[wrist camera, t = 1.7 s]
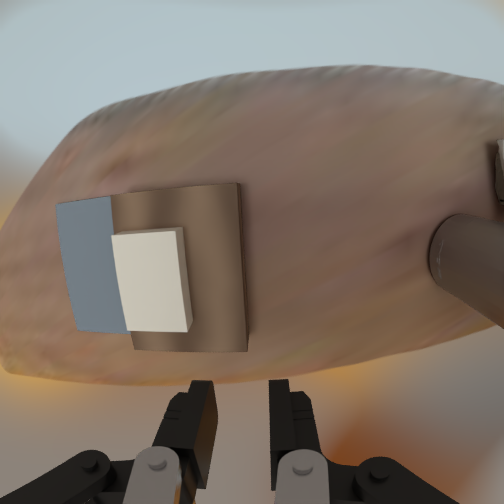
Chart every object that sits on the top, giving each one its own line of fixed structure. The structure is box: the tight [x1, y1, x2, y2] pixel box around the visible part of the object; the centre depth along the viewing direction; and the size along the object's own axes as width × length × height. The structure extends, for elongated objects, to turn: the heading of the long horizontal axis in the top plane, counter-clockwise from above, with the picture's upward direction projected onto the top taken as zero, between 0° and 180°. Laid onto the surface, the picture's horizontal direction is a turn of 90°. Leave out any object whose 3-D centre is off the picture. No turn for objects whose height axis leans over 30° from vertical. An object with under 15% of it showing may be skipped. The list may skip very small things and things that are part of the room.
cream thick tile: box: [111, 227, 193, 332], centre depth 26 cm, size 6×9×2 cm, turn 3°
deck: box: [110, 183, 249, 352], centre depth 29 cm, size 12×16×4 cm
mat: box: [56, 196, 131, 334], centre depth 32 cm, size 10×16×1 cm, turn 3°
